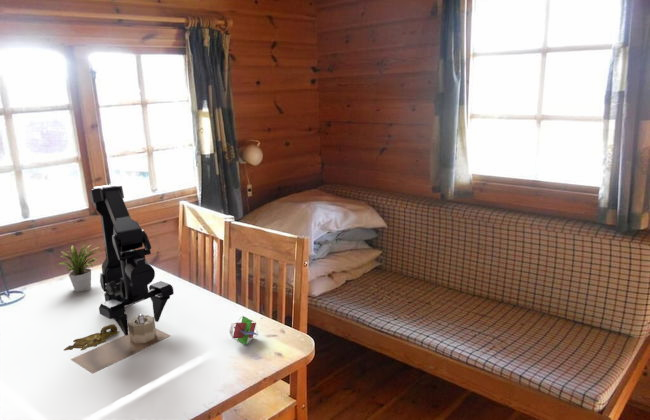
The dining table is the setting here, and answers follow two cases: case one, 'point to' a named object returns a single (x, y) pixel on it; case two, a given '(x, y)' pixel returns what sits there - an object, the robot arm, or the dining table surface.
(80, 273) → the house plant
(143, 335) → the beech bead
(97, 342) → the olive gold carved ornament
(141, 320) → the steel post
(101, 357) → the board
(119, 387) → the dining table surface
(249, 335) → the geometric puzzle
